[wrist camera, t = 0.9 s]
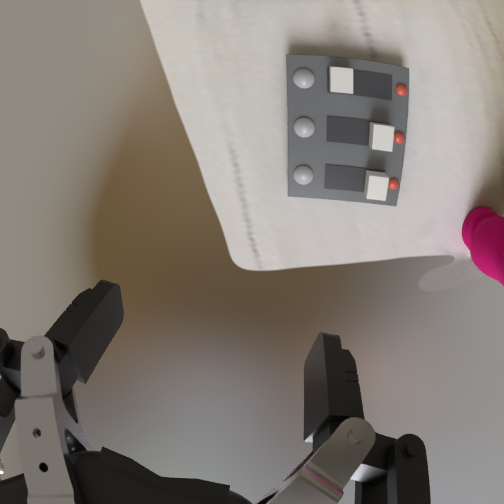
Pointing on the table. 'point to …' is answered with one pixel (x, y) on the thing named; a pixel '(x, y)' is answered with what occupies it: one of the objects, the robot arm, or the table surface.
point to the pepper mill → (486, 241)
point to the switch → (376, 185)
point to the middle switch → (381, 136)
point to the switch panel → (343, 127)
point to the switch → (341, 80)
